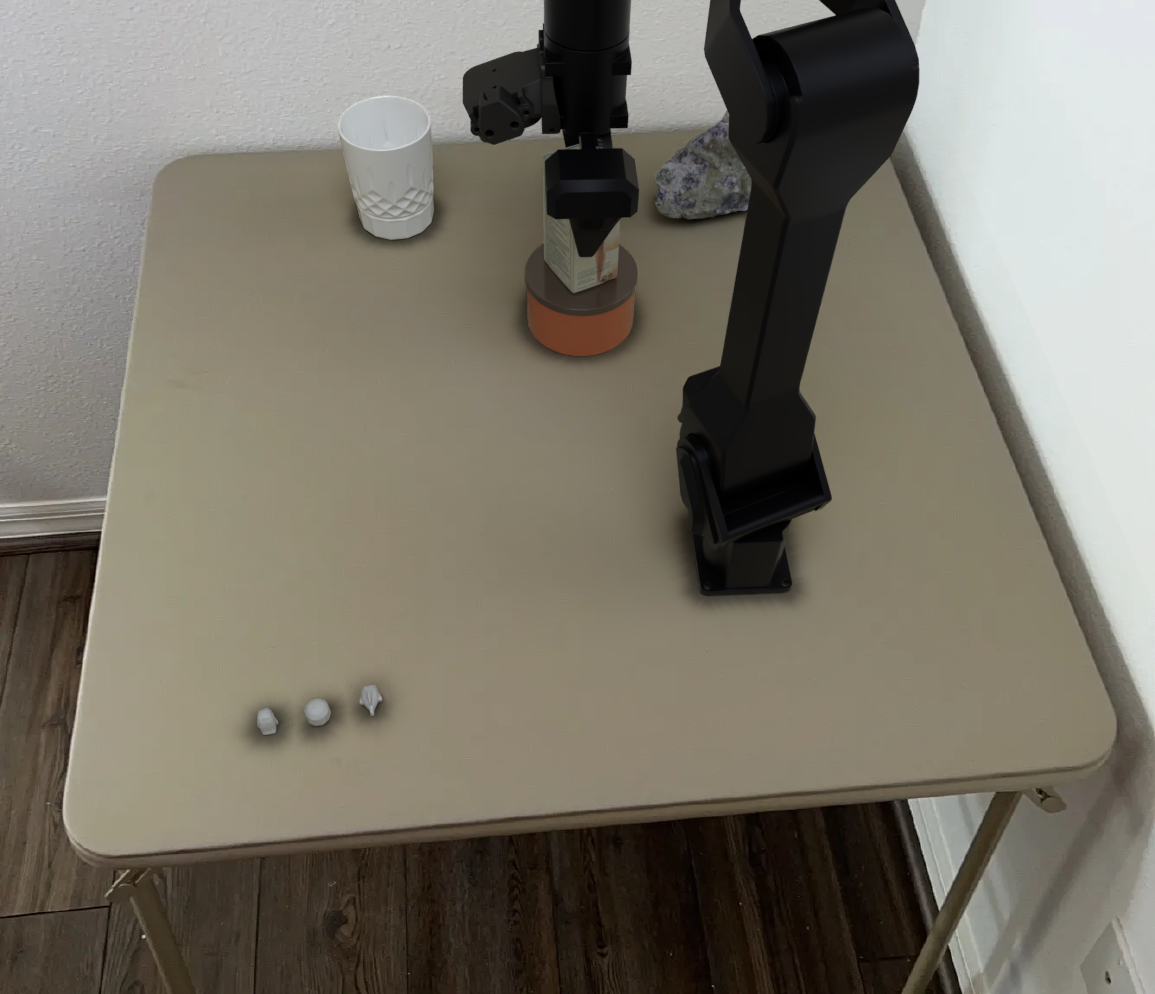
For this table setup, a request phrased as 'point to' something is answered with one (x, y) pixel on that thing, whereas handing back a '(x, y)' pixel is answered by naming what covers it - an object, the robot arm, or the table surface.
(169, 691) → the table surface
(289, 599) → the table surface
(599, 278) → the cream cardboard box
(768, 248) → the robot arm
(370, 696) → the game pieces
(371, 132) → the white cup
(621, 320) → the jar
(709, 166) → the mineral rock
